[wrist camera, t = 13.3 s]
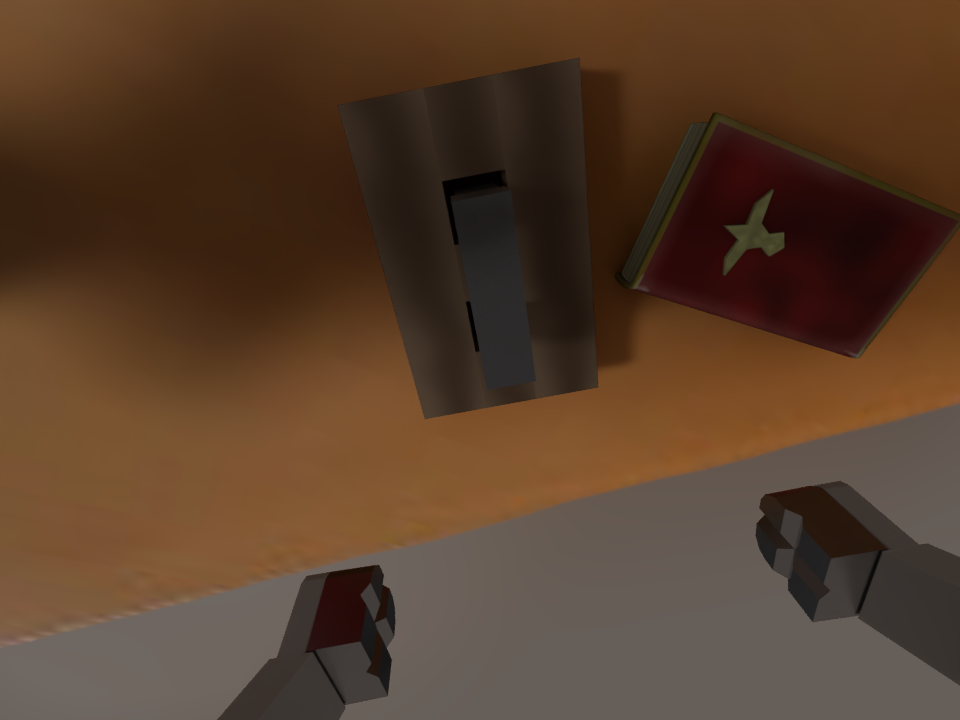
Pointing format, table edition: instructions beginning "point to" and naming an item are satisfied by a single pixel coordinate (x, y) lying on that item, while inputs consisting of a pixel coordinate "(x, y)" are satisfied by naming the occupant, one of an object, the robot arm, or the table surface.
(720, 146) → the hardcover book
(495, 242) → the grey u-shaped block
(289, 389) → the table surface
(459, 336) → the wooden board with holes
